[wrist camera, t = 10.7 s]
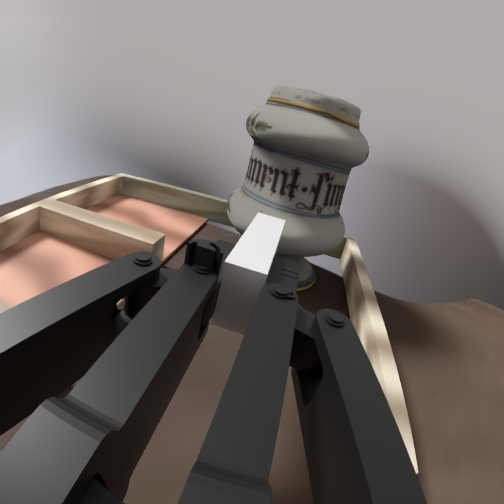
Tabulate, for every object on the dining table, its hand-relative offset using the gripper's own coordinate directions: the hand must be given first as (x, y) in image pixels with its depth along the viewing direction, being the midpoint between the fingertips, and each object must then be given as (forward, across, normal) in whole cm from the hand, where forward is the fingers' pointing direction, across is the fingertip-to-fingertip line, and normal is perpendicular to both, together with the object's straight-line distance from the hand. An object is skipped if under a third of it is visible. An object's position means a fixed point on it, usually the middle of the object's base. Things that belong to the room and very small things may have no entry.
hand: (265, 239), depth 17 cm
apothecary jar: (+14, +1, -8) cm, 17 cm away
